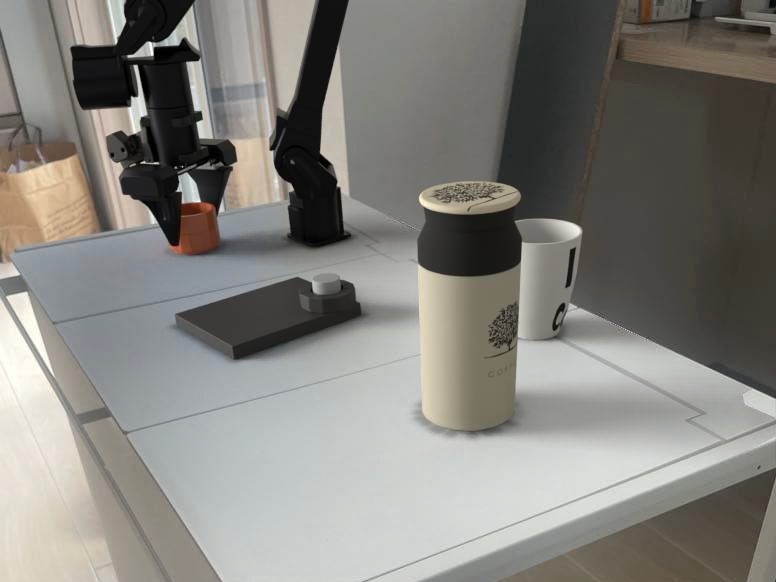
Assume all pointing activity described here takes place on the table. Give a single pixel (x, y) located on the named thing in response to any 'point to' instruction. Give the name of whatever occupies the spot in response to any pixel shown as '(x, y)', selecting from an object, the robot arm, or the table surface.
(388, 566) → the table surface
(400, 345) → the table surface
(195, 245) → the bowl
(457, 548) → the table surface
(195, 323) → the scale
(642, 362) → the table surface
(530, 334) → the cup
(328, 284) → the button
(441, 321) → the travel mug
